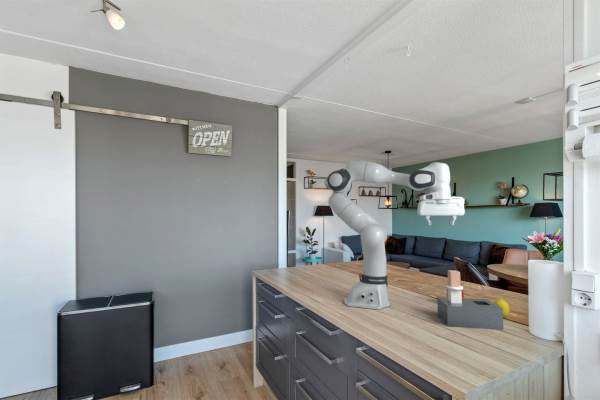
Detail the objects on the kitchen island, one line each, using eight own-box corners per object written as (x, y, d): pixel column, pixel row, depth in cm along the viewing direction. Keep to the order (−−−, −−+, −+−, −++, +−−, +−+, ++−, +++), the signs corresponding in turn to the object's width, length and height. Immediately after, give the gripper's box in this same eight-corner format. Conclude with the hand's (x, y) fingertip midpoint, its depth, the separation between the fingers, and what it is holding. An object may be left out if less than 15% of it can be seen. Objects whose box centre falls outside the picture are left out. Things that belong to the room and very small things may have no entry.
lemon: (505, 321, 115) (504, 301, 116) (491, 317, 120) (490, 298, 121) (512, 319, 118) (511, 299, 118) (498, 315, 123) (497, 296, 123)
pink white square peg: (449, 303, 113) (448, 272, 114) (443, 299, 120) (442, 269, 120) (466, 304, 112) (465, 273, 113) (459, 299, 119) (458, 270, 119)
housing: (447, 326, 110) (447, 305, 111) (437, 315, 122) (437, 297, 123) (503, 329, 107) (502, 308, 108) (487, 318, 119) (487, 299, 119)
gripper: (461, 196, 134) (461, 225, 133) (416, 196, 137) (416, 225, 137) (466, 195, 128) (467, 226, 127) (419, 196, 131) (420, 225, 130)
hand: (440, 225), depth 132 cm, fingers open, 8 cm apart
